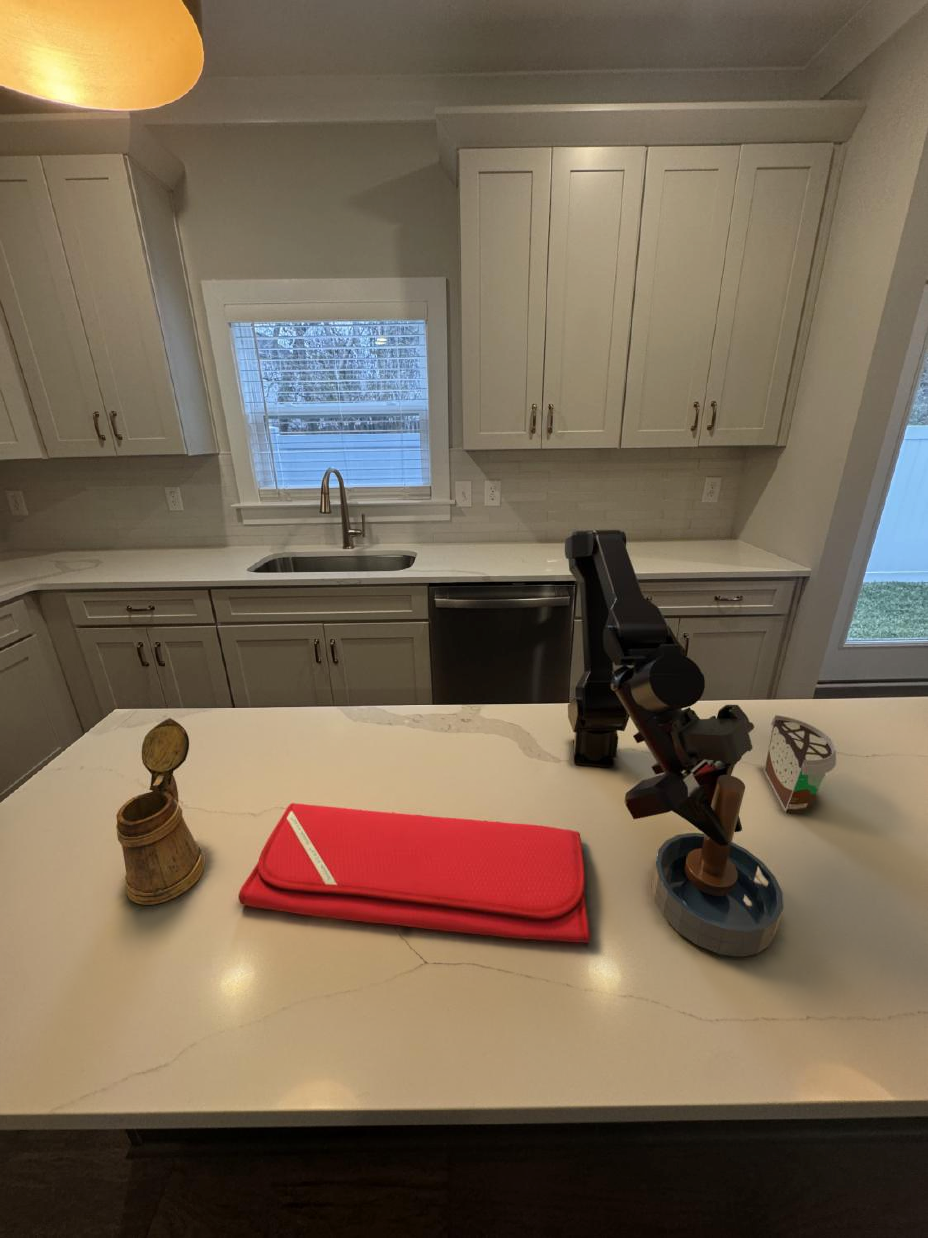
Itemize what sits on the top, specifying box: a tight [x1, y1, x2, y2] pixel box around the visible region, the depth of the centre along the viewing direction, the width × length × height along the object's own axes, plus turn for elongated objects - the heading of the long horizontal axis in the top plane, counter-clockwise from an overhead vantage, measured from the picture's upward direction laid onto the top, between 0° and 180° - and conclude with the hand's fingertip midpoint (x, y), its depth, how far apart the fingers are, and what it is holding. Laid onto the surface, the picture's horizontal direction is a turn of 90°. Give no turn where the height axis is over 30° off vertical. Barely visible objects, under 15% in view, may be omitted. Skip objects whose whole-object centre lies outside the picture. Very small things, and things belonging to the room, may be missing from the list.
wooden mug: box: [115, 717, 206, 906], centre depth 64 cm, size 9×14×18 cm, turn 1°
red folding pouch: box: [238, 802, 591, 944], centre depth 64 cm, size 16×41×4 cm, turn 83°
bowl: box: [651, 832, 784, 958], centre depth 59 cm, size 13×13×4 cm
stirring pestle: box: [685, 774, 746, 896], centre depth 58 cm, size 6×6×14 cm
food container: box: [763, 714, 837, 814], centre depth 75 cm, size 12×6×10 cm, turn 168°
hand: (731, 838), depth 57 cm, fingers closed on stirring pestle, 3 cm apart
